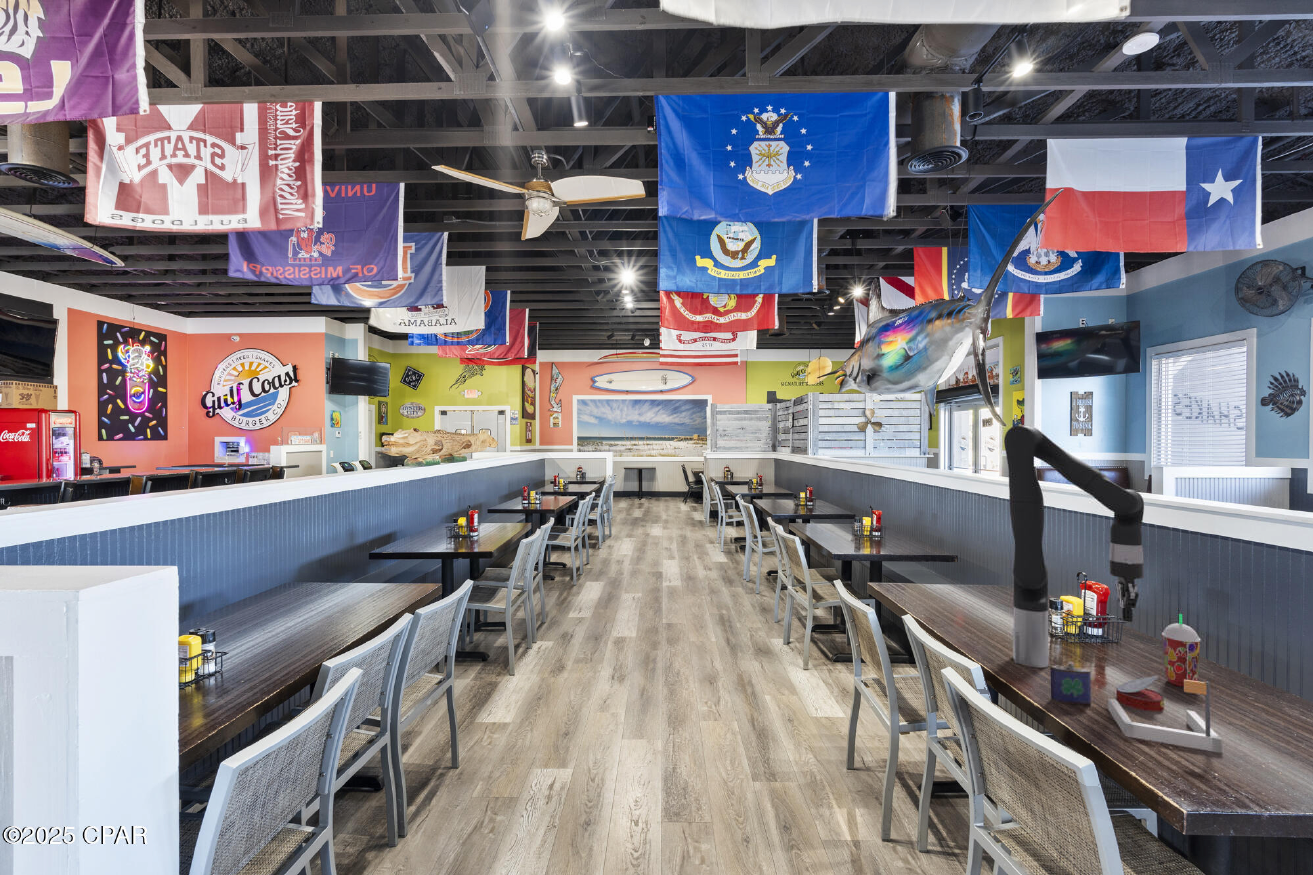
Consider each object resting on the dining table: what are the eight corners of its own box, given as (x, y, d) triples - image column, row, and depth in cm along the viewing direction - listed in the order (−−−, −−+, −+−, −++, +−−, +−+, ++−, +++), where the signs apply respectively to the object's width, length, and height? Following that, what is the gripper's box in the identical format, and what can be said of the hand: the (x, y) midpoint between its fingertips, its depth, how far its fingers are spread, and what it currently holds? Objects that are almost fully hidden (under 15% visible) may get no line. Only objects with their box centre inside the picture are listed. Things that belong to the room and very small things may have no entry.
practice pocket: (1125, 736, 138) (1124, 671, 138) (1108, 709, 152) (1107, 651, 152) (1222, 752, 130) (1220, 685, 131) (1194, 723, 144) (1193, 662, 145)
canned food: (1147, 729, 151) (1135, 698, 150) (1111, 708, 161) (1099, 678, 160) (1182, 707, 152) (1170, 675, 151) (1143, 687, 162) (1132, 658, 161)
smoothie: (1208, 690, 164) (1207, 619, 165) (1174, 688, 166) (1173, 617, 167) (1188, 679, 173) (1187, 611, 173) (1155, 677, 174) (1154, 609, 175)
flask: (1088, 702, 157) (1088, 661, 157) (1093, 706, 154) (1093, 665, 154) (1049, 698, 159) (1048, 658, 159) (1053, 702, 156) (1052, 662, 156)
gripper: (1104, 554, 174) (1104, 613, 174) (1116, 562, 163) (1116, 625, 162) (1135, 557, 171) (1136, 616, 171) (1150, 564, 159) (1151, 629, 159)
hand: (1126, 620), depth 166 cm, fingers closed
